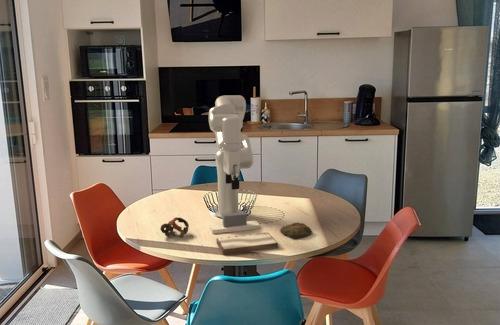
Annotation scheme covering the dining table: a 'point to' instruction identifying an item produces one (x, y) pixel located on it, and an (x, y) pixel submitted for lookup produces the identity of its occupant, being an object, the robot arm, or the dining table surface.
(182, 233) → the rusty gear assembly
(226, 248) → the light wooden flat board
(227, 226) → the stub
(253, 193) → the dining table surface
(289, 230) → the bread roll
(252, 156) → the robot arm
